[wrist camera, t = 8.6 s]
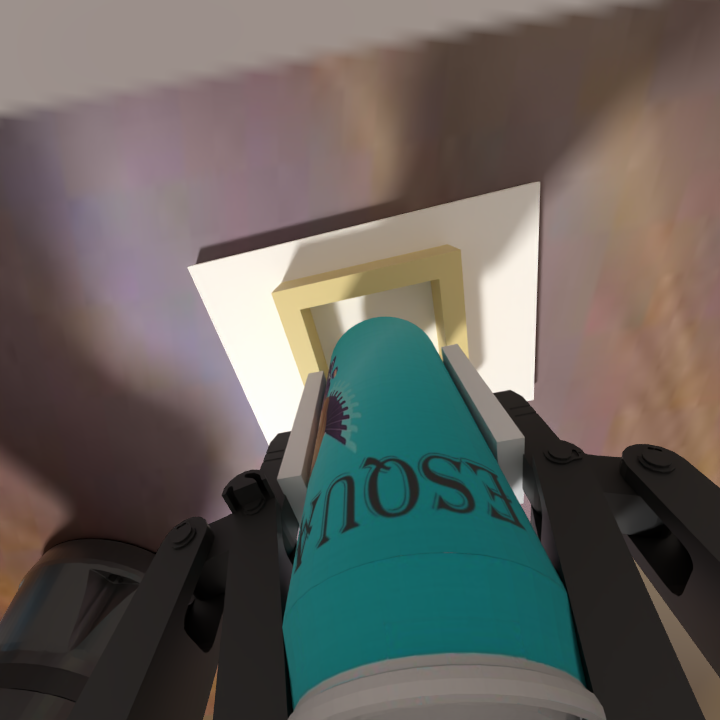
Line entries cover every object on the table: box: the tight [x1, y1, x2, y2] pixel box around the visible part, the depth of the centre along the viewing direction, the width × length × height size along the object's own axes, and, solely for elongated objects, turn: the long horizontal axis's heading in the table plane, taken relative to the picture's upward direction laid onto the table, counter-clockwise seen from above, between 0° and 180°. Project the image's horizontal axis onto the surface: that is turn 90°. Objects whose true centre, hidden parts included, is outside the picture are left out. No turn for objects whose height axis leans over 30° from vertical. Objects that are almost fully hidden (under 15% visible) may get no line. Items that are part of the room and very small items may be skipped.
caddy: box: [188, 182, 540, 445], centre depth 20 cm, size 20×14×4 cm
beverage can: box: [282, 317, 606, 720], centre depth 12 cm, size 6×6×15 cm
